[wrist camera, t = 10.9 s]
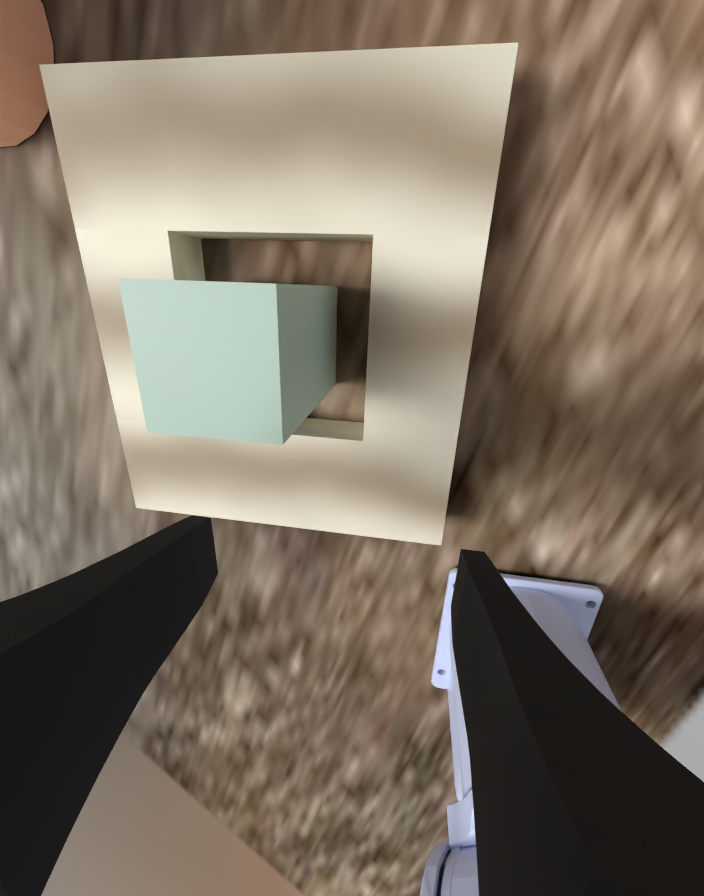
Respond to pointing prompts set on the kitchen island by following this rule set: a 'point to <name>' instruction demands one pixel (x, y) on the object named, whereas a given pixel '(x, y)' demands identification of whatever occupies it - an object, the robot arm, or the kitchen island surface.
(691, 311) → the kitchen island surface
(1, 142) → the salt shaker
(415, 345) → the board with square hole
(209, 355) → the peg
